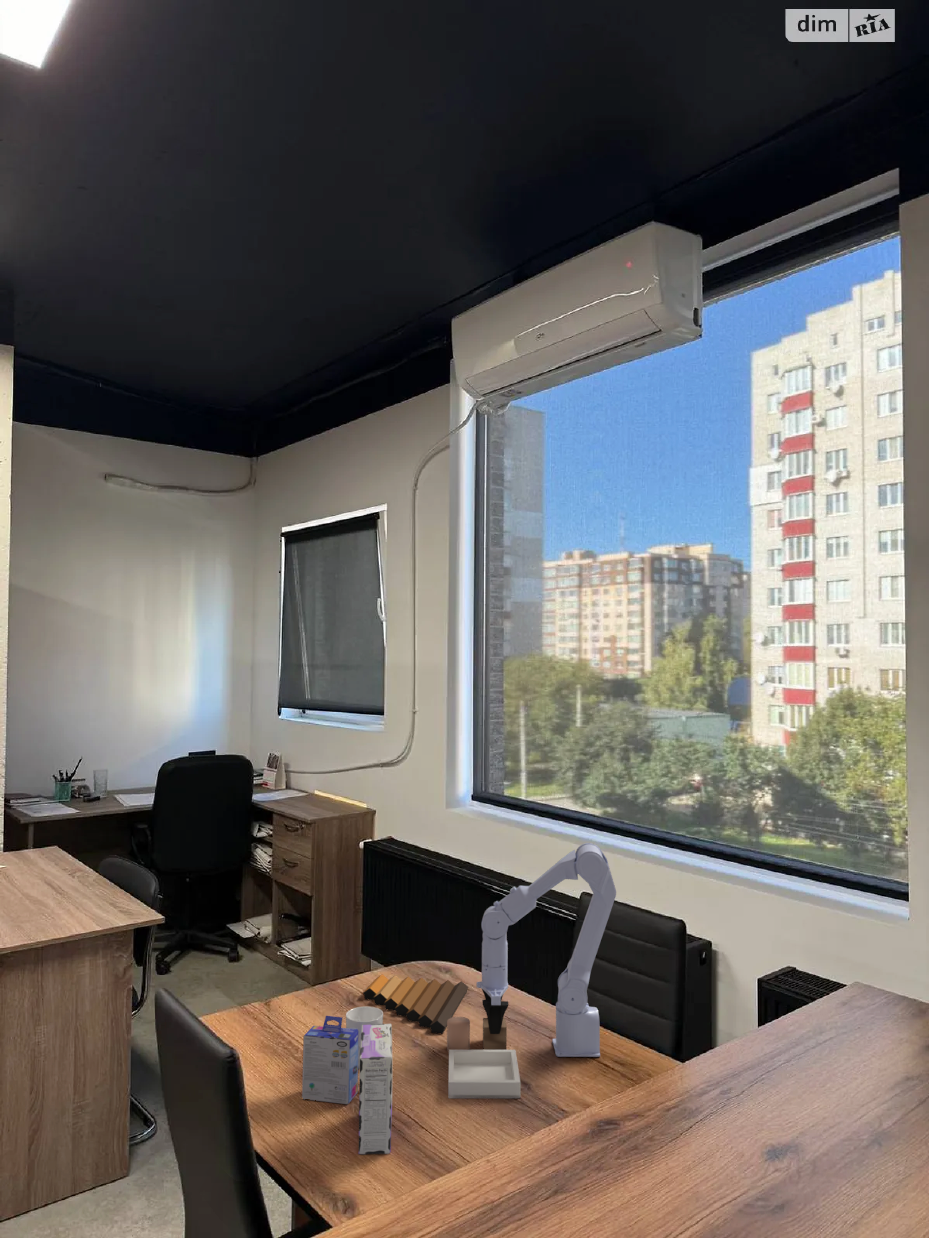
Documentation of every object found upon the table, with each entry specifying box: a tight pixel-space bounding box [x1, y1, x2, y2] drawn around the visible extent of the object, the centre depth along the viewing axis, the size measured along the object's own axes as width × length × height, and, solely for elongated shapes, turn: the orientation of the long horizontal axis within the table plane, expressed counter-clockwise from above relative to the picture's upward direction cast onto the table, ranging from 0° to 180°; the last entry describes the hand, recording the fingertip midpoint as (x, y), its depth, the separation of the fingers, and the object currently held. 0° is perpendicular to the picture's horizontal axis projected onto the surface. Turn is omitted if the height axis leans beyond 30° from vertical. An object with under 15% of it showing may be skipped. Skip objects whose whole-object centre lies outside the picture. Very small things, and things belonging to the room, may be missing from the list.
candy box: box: [357, 1023, 393, 1155], centre depth 152 cm, size 14×6×16 cm, turn 5°
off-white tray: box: [447, 1049, 521, 1099], centre depth 171 cm, size 14×14×3 cm
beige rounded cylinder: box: [446, 1016, 471, 1053], centre depth 185 cm, size 5×5×6 cm
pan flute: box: [363, 974, 469, 1035], centre depth 207 cm, size 25×3×25 cm
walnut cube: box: [482, 1017, 508, 1050], centre depth 187 cm, size 5×5×5 cm
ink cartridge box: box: [301, 1015, 359, 1105], centre depth 165 cm, size 10×6×14 cm, turn 78°
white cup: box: [345, 1006, 384, 1070], centre depth 179 cm, size 8×8×10 cm
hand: (494, 1025), depth 187 cm, fingers open, 7 cm apart
